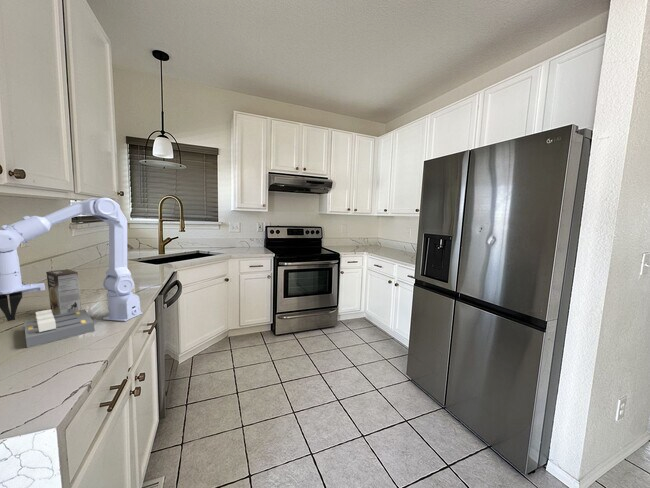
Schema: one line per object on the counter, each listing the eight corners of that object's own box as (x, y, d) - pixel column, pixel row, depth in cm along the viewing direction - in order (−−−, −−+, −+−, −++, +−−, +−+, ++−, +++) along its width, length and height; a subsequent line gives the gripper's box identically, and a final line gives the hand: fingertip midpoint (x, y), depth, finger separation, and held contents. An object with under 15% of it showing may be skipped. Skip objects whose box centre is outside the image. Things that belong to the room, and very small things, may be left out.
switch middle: (53, 320, 88) (52, 313, 88) (54, 323, 86) (53, 316, 86) (37, 323, 85) (36, 316, 85) (37, 326, 83) (37, 319, 83)
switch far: (51, 315, 91) (50, 309, 91) (52, 318, 89) (51, 311, 89) (36, 319, 89) (35, 312, 88) (36, 321, 87) (36, 314, 86)
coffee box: (50, 312, 103) (45, 271, 101) (71, 307, 108) (67, 268, 106) (60, 317, 99) (55, 274, 97) (82, 311, 104) (78, 271, 102)
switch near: (55, 325, 84) (54, 318, 84) (56, 328, 82) (55, 320, 82) (38, 328, 82) (37, 321, 81) (39, 332, 80) (38, 324, 79)
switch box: (85, 316, 99) (84, 309, 99) (94, 330, 88) (93, 322, 88) (25, 330, 88) (24, 321, 88) (27, 348, 77) (25, 337, 77)
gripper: (-41, 280, 66) (-33, 332, 68) (43, 271, 77) (48, 316, 79) (-38, 275, 71) (-30, 324, 73) (41, 267, 82) (46, 310, 84)
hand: (11, 319), depth 76 cm, fingers closed
